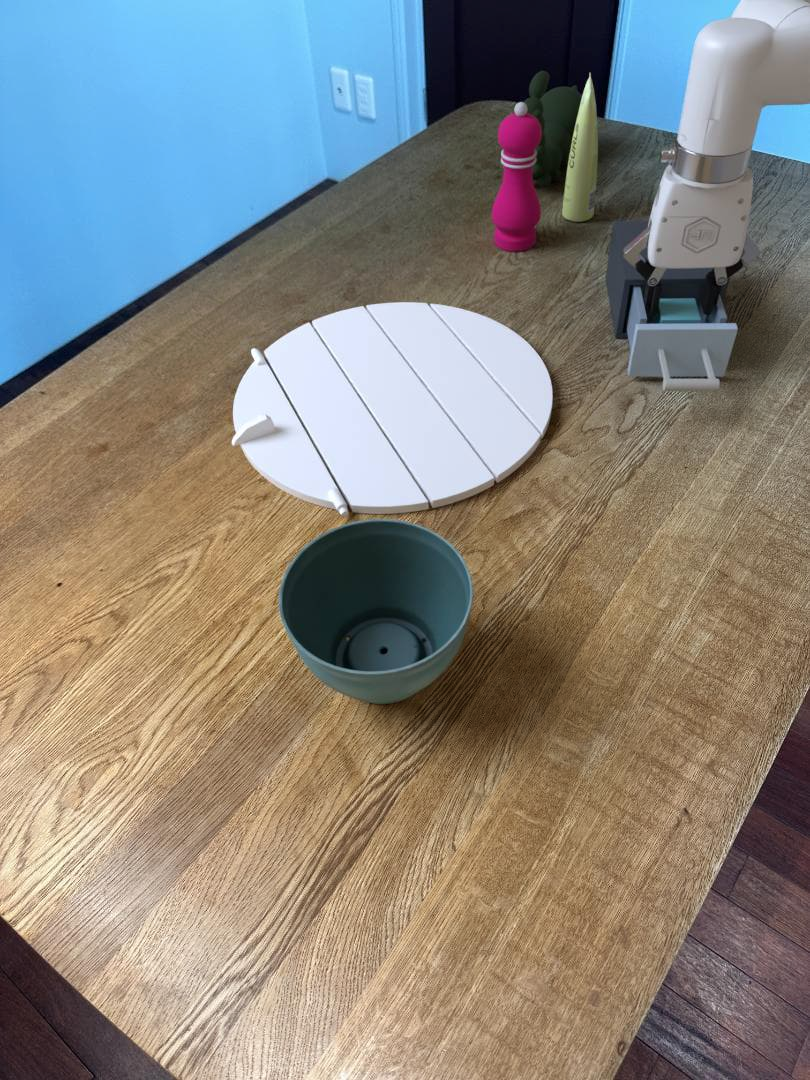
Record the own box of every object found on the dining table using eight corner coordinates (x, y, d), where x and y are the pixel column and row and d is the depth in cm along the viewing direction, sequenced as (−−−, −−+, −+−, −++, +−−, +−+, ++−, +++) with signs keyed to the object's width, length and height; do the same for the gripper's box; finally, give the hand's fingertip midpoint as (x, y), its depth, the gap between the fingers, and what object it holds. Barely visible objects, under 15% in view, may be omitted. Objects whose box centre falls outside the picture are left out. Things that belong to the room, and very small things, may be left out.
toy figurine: (552, 213, 132) (597, 137, 145) (559, 93, 117) (609, 20, 130) (498, 205, 135) (547, 130, 148) (498, 87, 120) (552, 15, 133)
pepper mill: (482, 246, 124) (484, 107, 109) (506, 225, 127) (511, 88, 112) (523, 258, 121) (531, 117, 106) (547, 236, 124) (558, 97, 109)
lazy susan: (286, 564, 84) (280, 543, 81) (193, 362, 108) (186, 340, 106) (616, 443, 93) (620, 420, 90) (462, 281, 117) (462, 260, 115)
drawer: (735, 415, 94) (751, 367, 89) (634, 414, 95) (644, 367, 90) (705, 313, 107) (717, 266, 102) (617, 314, 108) (625, 267, 103)
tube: (552, 213, 129) (563, 79, 115) (576, 203, 131) (590, 70, 116) (576, 226, 126) (590, 91, 111) (601, 216, 128) (618, 81, 113)
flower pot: (485, 605, 79) (487, 530, 71) (454, 755, 69) (453, 689, 61) (327, 581, 82) (311, 507, 74) (275, 722, 72) (250, 654, 64)
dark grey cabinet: (714, 338, 105) (730, 278, 99) (615, 338, 106) (624, 279, 100) (696, 277, 115) (709, 219, 108) (605, 278, 116) (613, 220, 109)
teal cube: (687, 329, 103) (695, 298, 100) (693, 351, 100) (701, 319, 97) (650, 330, 104) (656, 298, 100) (655, 351, 101) (661, 319, 97)
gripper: (630, 177, 83) (608, 327, 97) (805, 172, 82) (758, 326, 95) (623, 145, 88) (603, 293, 102) (788, 140, 86) (745, 291, 100)
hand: (678, 307), depth 98 cm, fingers open, 5 cm apart
